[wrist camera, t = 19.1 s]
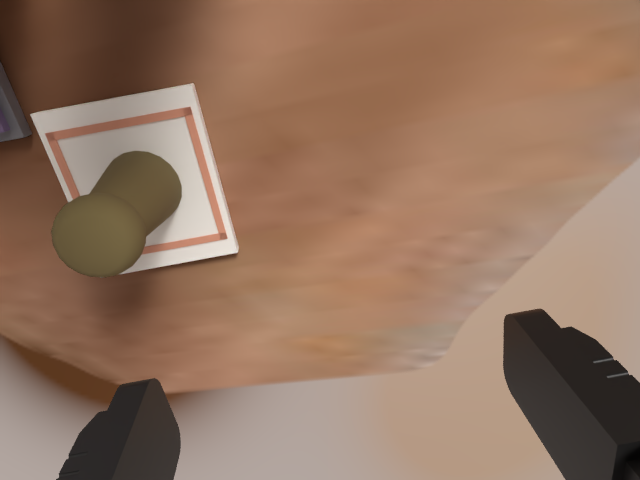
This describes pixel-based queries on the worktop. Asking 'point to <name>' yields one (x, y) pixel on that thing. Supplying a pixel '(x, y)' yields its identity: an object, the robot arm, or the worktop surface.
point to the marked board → (157, 138)
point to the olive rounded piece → (117, 215)
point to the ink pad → (10, 112)
